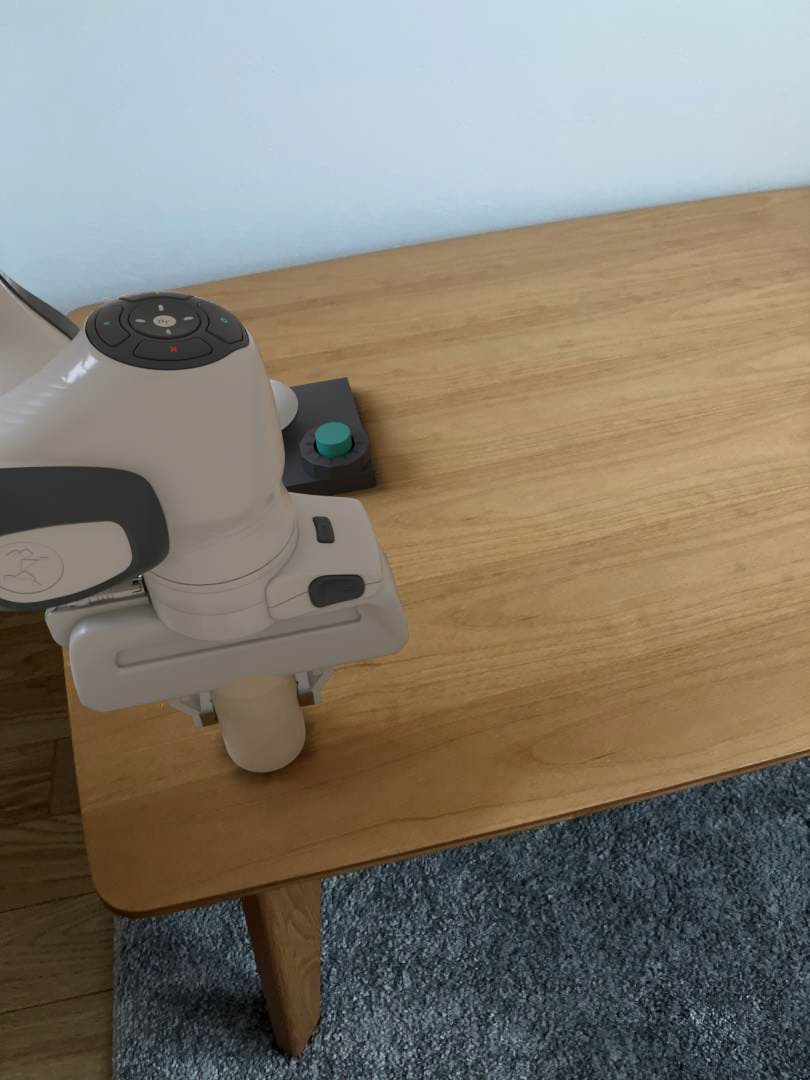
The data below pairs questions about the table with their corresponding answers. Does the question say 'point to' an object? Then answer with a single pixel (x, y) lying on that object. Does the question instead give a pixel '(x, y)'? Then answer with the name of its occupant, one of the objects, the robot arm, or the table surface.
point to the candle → (260, 721)
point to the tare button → (333, 439)
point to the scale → (302, 457)
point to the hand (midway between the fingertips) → (259, 707)
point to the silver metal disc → (285, 404)
